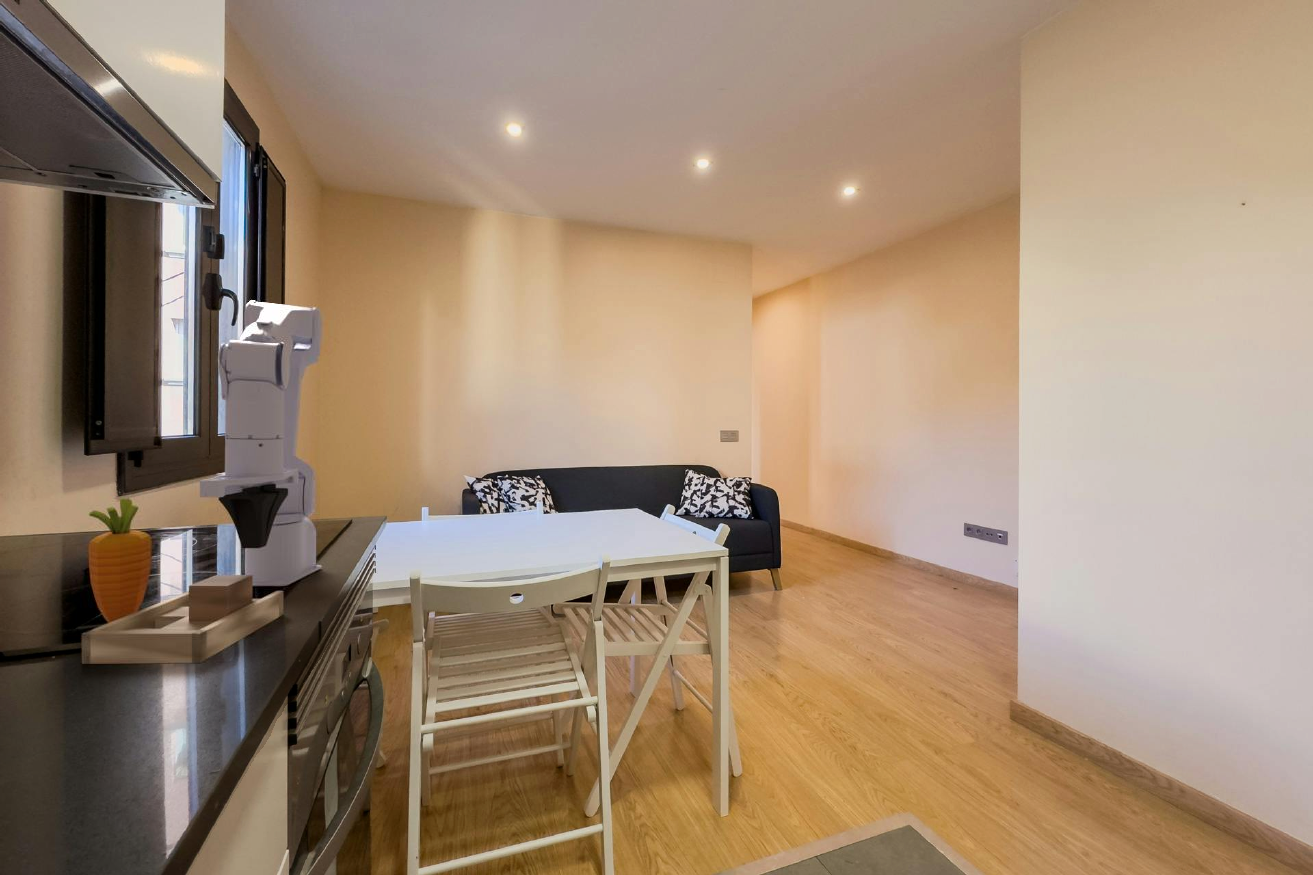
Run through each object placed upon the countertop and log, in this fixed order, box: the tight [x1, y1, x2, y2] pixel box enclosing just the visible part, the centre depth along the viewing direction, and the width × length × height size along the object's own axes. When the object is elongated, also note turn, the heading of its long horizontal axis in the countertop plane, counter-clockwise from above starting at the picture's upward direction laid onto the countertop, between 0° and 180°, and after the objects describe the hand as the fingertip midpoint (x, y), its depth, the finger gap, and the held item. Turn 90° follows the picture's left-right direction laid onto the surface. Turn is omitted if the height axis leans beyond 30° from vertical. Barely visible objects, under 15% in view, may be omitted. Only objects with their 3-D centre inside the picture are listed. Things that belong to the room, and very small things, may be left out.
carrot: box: [87, 498, 153, 624], centre depth 58 cm, size 5×5×15 cm
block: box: [188, 574, 253, 621], centre depth 59 cm, size 4×4×4 cm
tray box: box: [81, 590, 284, 665], centre depth 58 cm, size 13×11×3 cm
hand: (254, 547), depth 64 cm, fingers closed
